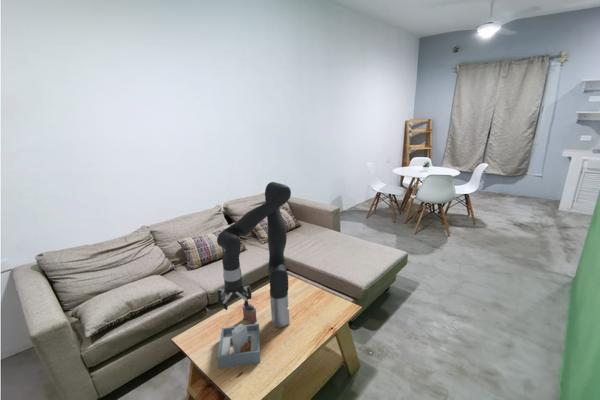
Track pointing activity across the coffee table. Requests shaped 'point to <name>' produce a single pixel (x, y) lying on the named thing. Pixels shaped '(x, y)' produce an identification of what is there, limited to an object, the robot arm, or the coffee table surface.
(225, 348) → the bore box
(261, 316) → the coffee table surface
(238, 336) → the skincare box
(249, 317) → the lighter
